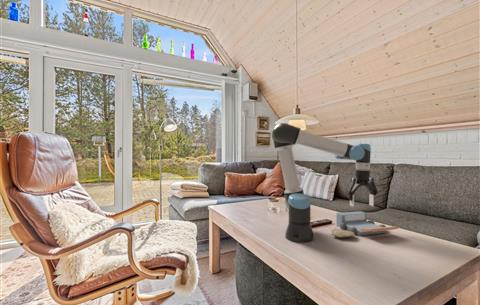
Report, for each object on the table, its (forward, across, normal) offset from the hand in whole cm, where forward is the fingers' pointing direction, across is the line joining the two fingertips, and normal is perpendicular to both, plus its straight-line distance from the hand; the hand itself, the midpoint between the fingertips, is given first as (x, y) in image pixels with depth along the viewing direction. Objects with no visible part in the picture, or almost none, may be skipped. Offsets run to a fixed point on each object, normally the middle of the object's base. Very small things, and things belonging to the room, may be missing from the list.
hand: (361, 205), depth 137 cm
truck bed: (+15, +1, 0) cm, 15 cm away
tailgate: (+11, +1, -8) cm, 14 cm away
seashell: (+16, -13, -5) cm, 21 cm away
